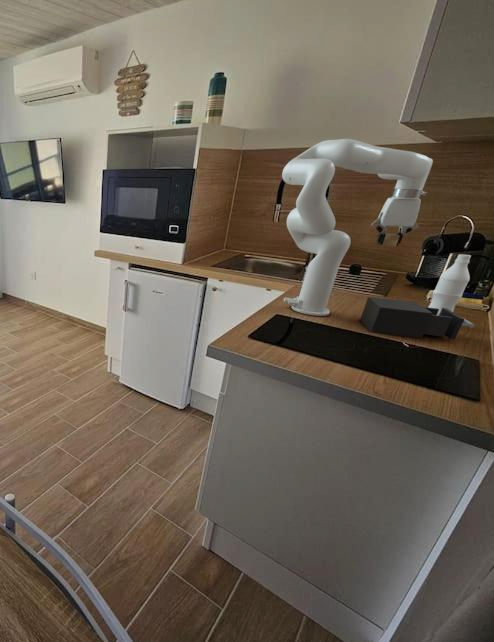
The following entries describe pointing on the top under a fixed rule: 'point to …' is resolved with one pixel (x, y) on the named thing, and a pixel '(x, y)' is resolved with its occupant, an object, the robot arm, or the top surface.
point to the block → (391, 240)
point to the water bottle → (451, 285)
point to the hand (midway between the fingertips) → (387, 244)
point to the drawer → (445, 323)
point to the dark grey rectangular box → (395, 317)
